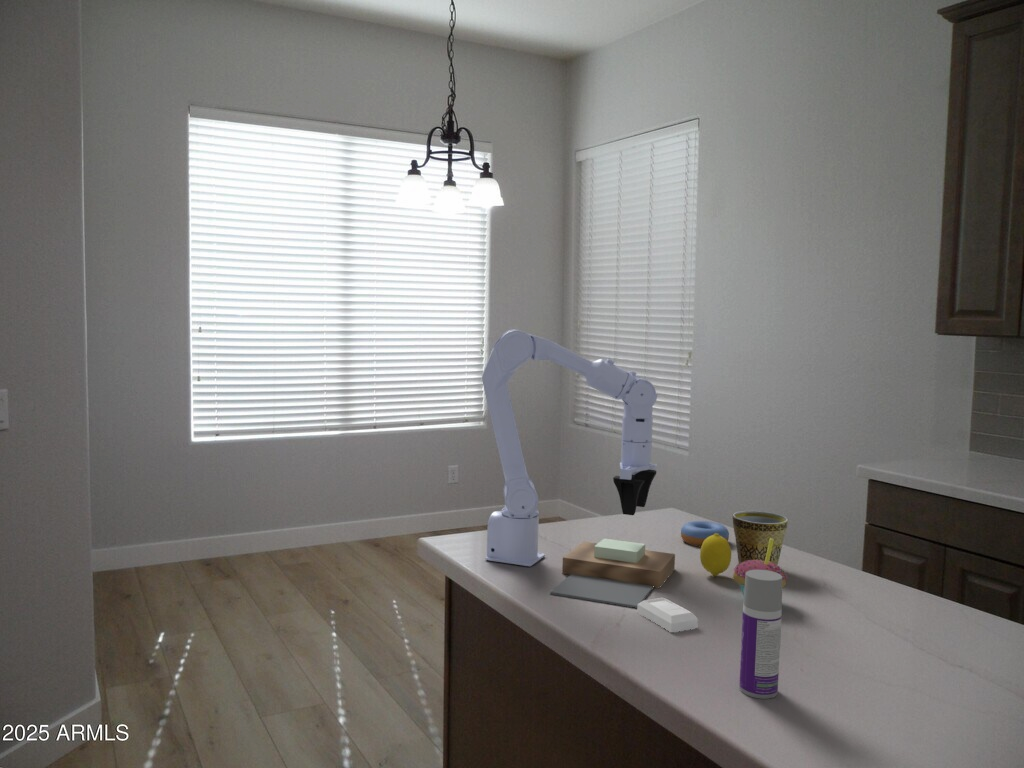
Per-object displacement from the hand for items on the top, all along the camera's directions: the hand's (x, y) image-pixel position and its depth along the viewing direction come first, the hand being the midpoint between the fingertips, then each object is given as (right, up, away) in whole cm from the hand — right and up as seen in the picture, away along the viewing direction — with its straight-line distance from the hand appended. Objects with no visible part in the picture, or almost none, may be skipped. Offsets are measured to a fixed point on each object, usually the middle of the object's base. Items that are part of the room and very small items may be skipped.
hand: (634, 510), depth 159 cm
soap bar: (+1, -13, -30) cm, 33 cm away
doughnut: (+17, -10, +16) cm, 25 cm away
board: (-4, -10, -6) cm, 13 cm away
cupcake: (+18, -12, -21) cm, 30 cm away
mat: (-8, -11, -18) cm, 22 cm away
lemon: (+14, -11, -8) cm, 19 cm away
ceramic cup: (+23, -11, -1) cm, 25 cm away
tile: (-4, -7, -7) cm, 11 cm away
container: (+8, -15, -54) cm, 57 cm away
